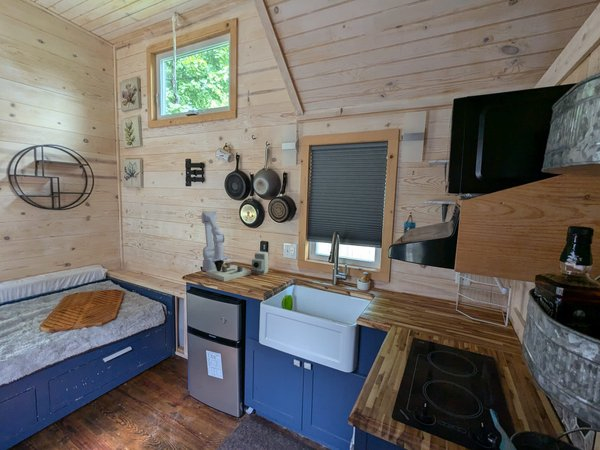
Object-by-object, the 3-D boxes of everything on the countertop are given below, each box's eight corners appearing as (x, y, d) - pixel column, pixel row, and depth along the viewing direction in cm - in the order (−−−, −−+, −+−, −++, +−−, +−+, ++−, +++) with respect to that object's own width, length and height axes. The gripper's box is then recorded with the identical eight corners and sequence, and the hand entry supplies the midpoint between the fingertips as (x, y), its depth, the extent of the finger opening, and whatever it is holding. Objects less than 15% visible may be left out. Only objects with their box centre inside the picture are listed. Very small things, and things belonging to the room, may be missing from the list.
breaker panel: (206, 275, 202) (206, 266, 202) (233, 268, 221) (233, 260, 220) (224, 281, 190) (224, 271, 189) (251, 273, 209) (251, 265, 208)
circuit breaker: (250, 275, 205) (251, 255, 203) (259, 270, 218) (259, 251, 217) (260, 276, 203) (260, 256, 201) (268, 271, 216) (268, 252, 215)
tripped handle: (221, 271, 202) (221, 265, 202) (224, 270, 204) (224, 264, 203) (224, 271, 200) (224, 266, 200) (226, 271, 202) (226, 265, 201)
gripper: (213, 254, 188) (213, 274, 190) (230, 251, 200) (230, 270, 201) (206, 252, 193) (207, 272, 194) (224, 249, 204) (224, 268, 206)
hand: (218, 271), depth 198 cm, fingers closed
